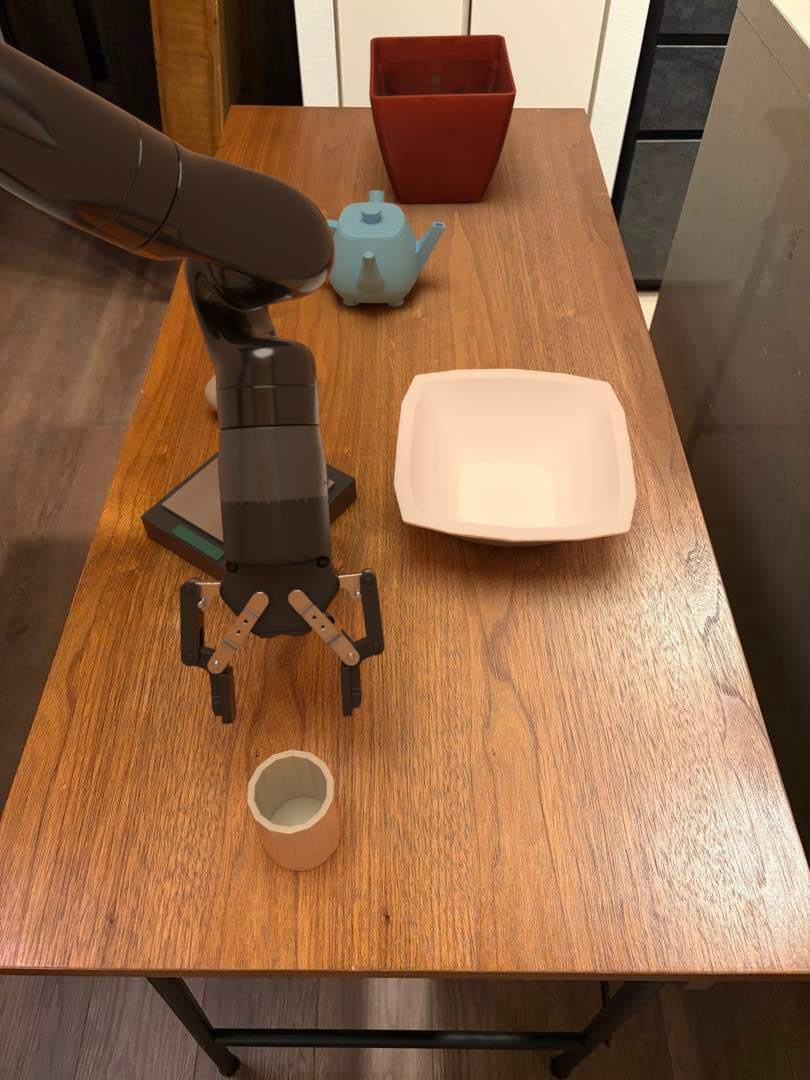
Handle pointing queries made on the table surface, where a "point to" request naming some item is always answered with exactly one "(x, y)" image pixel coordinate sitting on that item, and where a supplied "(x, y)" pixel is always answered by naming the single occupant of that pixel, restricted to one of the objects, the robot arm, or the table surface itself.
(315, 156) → the table surface
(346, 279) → the teapot
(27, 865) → the table surface
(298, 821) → the cup
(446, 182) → the flower pot
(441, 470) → the bowl
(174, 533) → the scale
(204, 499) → the scale pan
